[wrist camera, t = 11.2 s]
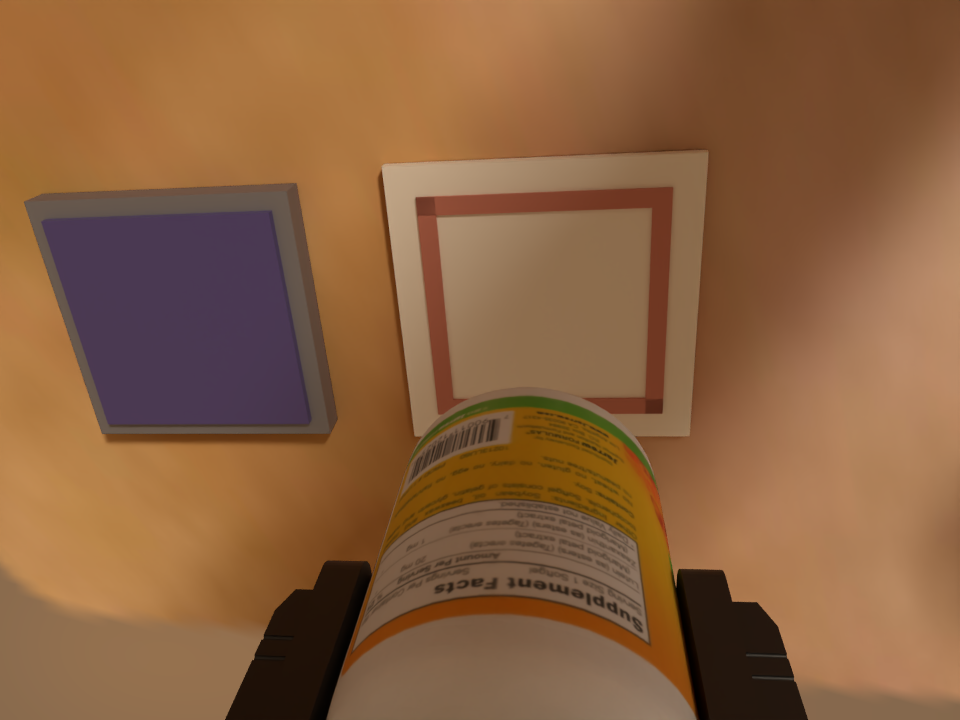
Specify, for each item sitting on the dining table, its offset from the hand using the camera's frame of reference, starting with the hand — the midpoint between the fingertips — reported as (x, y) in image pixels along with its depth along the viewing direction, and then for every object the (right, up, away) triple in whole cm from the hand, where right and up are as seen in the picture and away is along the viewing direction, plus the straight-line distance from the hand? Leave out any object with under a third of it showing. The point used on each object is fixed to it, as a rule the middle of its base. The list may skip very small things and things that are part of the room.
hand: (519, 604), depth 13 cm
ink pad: (-11, +6, +14) cm, 19 cm away
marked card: (+2, +6, +12) cm, 14 cm away
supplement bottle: (0, +2, +3) cm, 4 cm away
